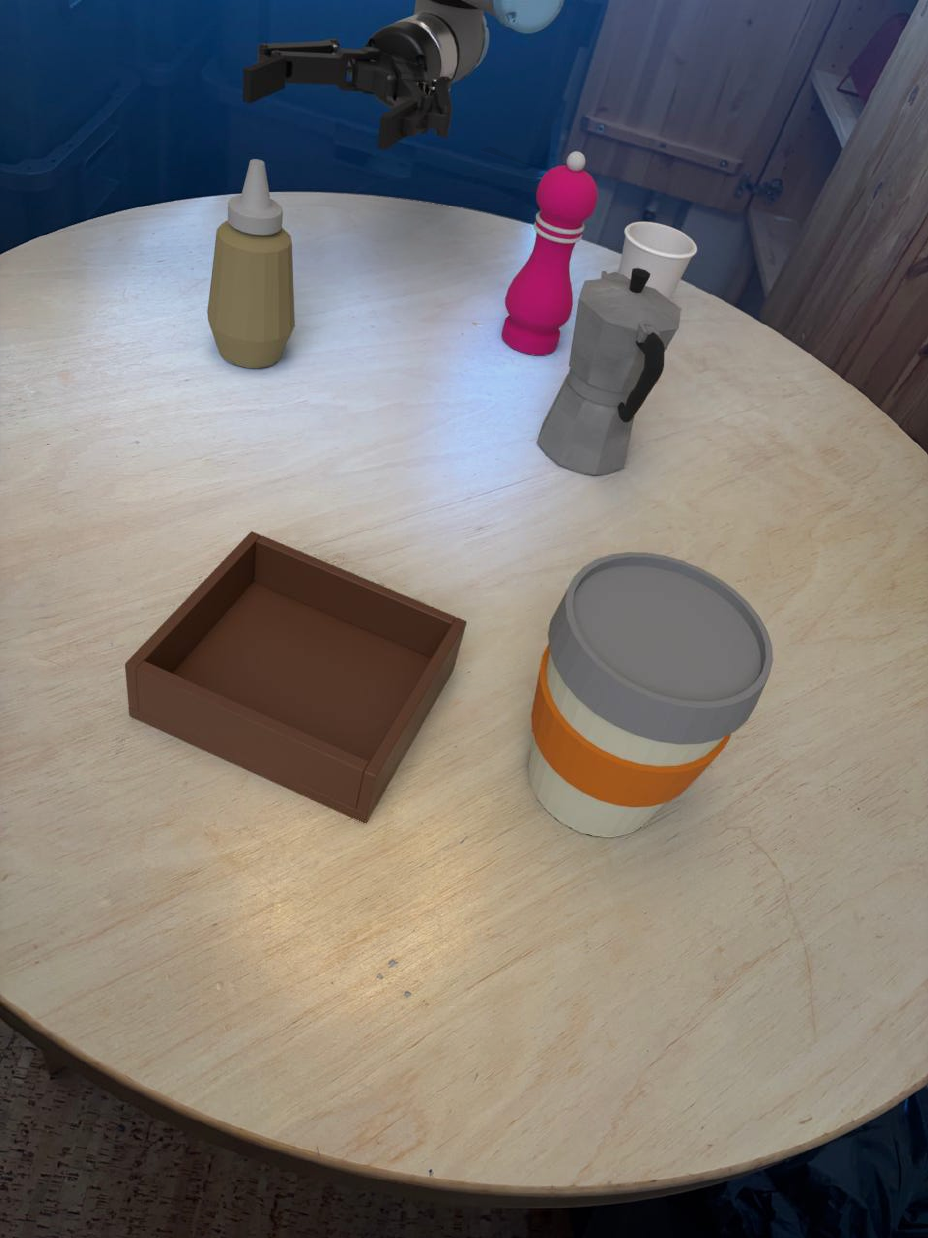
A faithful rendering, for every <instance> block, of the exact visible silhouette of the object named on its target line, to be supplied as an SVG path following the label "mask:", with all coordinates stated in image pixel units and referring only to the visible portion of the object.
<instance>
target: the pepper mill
mask: <svg viewBox="0 0 928 1238" xmlns="http://www.w3.org/2000/svg"><path fill="white" fill-rule="evenodd" d="M585 165H586V158H585V155H584V154H583V152H581V151H572V152H571V153H570V154H568V156H567V158H566V164H564V165H563V164H562V165H557V166H555V167H552V168H550V169H549V170H548V171H546V172H545V173H544V174H543V176H542V177H541V179H540V181H539V182H538V186H537V188H536V193H535V195H536V203H537V205H538V207H539V211H538V212H537V213H536V214H535V222H534V223H533V229H534V231H535V241H534V245H533V248H532V251H531V253H530V255H529V257H528V259H527V261H526V262H525V264H524V265H523V266H522V267H521V269H520V270H519V271H518V273H517V274H516V275H515V276H514V277H513V279H512V281H511V283H510V285H509V287H508V288H507V291H506V295H505V298H504V307H505V310H506V312H507V314H508V315H507V316H506V317H505V318H504V322H503V326H502V330H501V338H502V340H503V342H504V343H505V344H506V345H507V344H508V345H507V346H508V347H509V348H511V347H512V348H511V349H513V350H515V351H517V350H518V351H517V352H519V351H520V353H522V352H523V354H525V353H526V354H525V355H530V354H534V355H533V356H546V355H545V354H547V355H550V354H553V353H554V352H555V351H556V350H557V348H558V344H559V341H560V337H561V329H560V328H562V327H563V326H564V325H566V324H567V322H568V321H569V320H570V319H571V316H572V311H573V306H574V293H573V292H574V291H573V286H572V281H571V272H570V271H571V270H570V266H571V259H572V253H573V251H574V249H575V245H576V243H579V242H580V241H581V240H582V239H583V232H584V231H585V223H584V222H585V221H586V220H588V219H589V218H590V217H591V216H592V215H593V213H594V211H595V210H596V206H597V203H598V197H599V195H598V194H599V193H598V186H597V184H596V182H595V179H594V178H593V176H592V175H590V173H588V172H587V171H585V169H584V167H585Z"/></svg>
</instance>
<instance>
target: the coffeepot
mask: <svg viewBox="0 0 928 1238" xmlns="http://www.w3.org/2000/svg"><path fill="white" fill-rule="evenodd" d="M618 272H619V271H618ZM618 272H617V271H613V272H610V273H608V272H607V271H606V270H602V271H601V278H596V279H588V280H584V281H583V284H582V286H581V289H580V293H579V297H578V301H577V309H576V315H575V321H574V329H573V335H572V336H573V337H572V340H571V341H572V342H571V349H570V355H569V362H568V366H569V371H568V373H567V374H566V377H565V379H564V380H563V383H562V385H561V386H560V389H559V391H558V393H557V394H556V396H555V398H554V400H553V401H552V404H551V406H550V407H549V410H548V412H547V414H546V416H545V418H544V419H543V422H542V425H541V428H540V431H539V434H538V437H537V441H536V443H537V445H538V446H539V447H540V449H541V450H542V452H543V453H544V454H545V455H546V457H548V458H549V459H550V460H551V461H553V462H554V463H556V464H557V465H558V466H560V467H563V468H564V469H566V470H569V471H572V472H574V473H578V474H583V475H586V476H587V475H589V476H606V475H610V474H613V473H616V472H617V471H619V470H622V469H625V466H626V461H627V455H628V449H629V445H630V441H631V434H632V430H633V425H634V420H635V415H636V414H637V413H638V411H639V410H640V408H641V407H642V405H643V404H644V402H645V401H646V399H647V397H648V396H649V394H651V393H650V392H651V391H652V390H653V388H654V387H655V386H656V384H657V383H658V381H659V379H660V378H661V377H662V375H663V372H664V369H665V352H666V351H667V349H668V347H669V345H670V343H671V342H672V340H673V338H674V336H675V334H676V332H677V331H678V330H679V328H680V321H681V320H680V319H681V313H682V308H680V307H679V306H678V305H677V304H676V303H674V302H673V301H672V300H671V299H670V300H669V299H668V298H666V297H665V296H664V295H663V294H661V293H660V292H659V291H657V290H656V289H655V288H651V287H648V286H645V284H646V283H647V281H648V279H649V277H650V273H649V272H647V271H646V270H643V269H640V268H634V269H632V275H631V280H630V279H629V278H627V277H626V276H625V275H621V274H620V273H618Z"/></svg>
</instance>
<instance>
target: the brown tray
mask: <svg viewBox="0 0 928 1238" xmlns="http://www.w3.org/2000/svg"><path fill="white" fill-rule="evenodd" d="M466 626H467V620H465V619H462V618H460V617H458V616H457V617H456V616H455V615H453V614H450V613H448V612H445V611H443V610H441V609H439V608H436V607H434V606H431V605H429V604H427V603H425V602H421V600H420V601H419V600H417V599H415V598H412V597H410V596H407V595H404V593H401V592H398V591H395V590H393V589H391V588H389V587H387V586H383V585H381V584H379V583H376V582H374V581H372V580H369V579H367V578H365V577H362V576H360V575H357V574H355V573H352V572H351V571H348V570H346V569H343V568H341V567H339V566H336V565H334V564H332V563H329V562H326V561H325V560H322V559H319V558H317V557H314V556H312V555H310V554H307V553H305V552H303V551H300V550H298V549H296V548H293V547H291V546H288V545H286V544H283V543H282V542H278V541H277V540H274V539H271V538H269V537H268V536H265V535H261V534H260V533H258V532H255V531H253V530H251V531H250V532H249V533H248V534H247V535H246V536H245V537H244V538H243V539H242V540H241V541H240V543H238V545H236V546H235V548H233V550H232V551H231V552H230V553H229V554H228V555H226V557H225V558H224V559H223V560H222V561H221V562H220V563H219V565H218V566H216V567H215V569H214V570H213V571H212V572H211V573H210V574H208V576H207V577H206V578H205V579H204V580H203V581H202V582H201V583H200V584H199V585H198V586H197V587H196V588H195V590H194V591H193V592H192V593H191V594H190V595H189V596H188V597H187V598H186V599H185V600H184V601H183V602H182V603H181V604H180V606H178V607H177V608H176V609H175V610H174V612H172V614H171V615H170V616H169V617H168V618H167V619H166V620H165V621H164V622H163V623H162V624H161V625H160V626H159V627H158V628H157V629H156V631H155V632H154V633H153V634H152V635H150V637H149V638H148V639H146V640H145V642H144V643H143V644H142V645H141V646H140V647H139V648H138V649H137V650H136V651H135V653H133V655H132V656H130V658H129V659H128V660H127V661H126V662H125V663H124V671H125V682H126V693H127V705H128V715H129V717H131V718H133V719H134V720H137V721H139V722H141V723H143V724H146V725H148V726H150V727H153V728H155V729H157V730H159V731H162V732H164V733H165V734H168V735H170V736H172V737H174V738H177V739H179V740H181V741H183V742H185V743H187V744H189V745H191V746H194V747H196V748H198V749H200V750H203V751H204V752H207V753H209V754H211V755H214V756H216V757H218V758H220V759H222V760H225V761H226V762H229V763H231V764H234V765H235V766H237V767H240V768H242V769H244V770H246V771H249V772H251V773H252V774H255V775H257V776H259V777H262V778H264V779H266V780H268V781H270V782H273V783H274V784H277V785H279V786H281V787H284V788H286V789H288V790H290V791H292V792H294V793H297V794H299V795H301V796H303V797H305V798H307V797H308V798H307V799H310V800H312V801H314V802H316V803H318V804H320V803H321V805H323V806H324V807H327V808H329V809H331V810H334V811H336V812H338V813H340V814H343V815H344V814H345V816H347V817H349V818H351V819H353V818H354V819H353V820H355V819H356V821H357V820H359V821H358V822H360V821H361V822H360V823H362V822H363V823H362V824H364V823H366V824H367V823H368V822H369V819H370V818H371V816H372V814H373V812H374V811H373V810H375V809H376V808H377V806H378V804H379V802H380V800H381V798H382V797H383V795H384V793H385V791H386V790H387V788H388V786H389V784H390V782H391V781H392V780H393V777H394V776H395V774H396V772H397V770H398V768H399V767H400V765H401V764H402V761H403V759H404V758H405V756H406V754H407V753H408V752H409V749H410V747H411V745H412V744H413V742H414V740H415V738H416V737H417V735H418V734H419V731H420V730H421V728H422V726H423V724H424V723H425V721H426V719H427V717H428V716H429V714H430V712H431V710H432V709H433V706H434V705H435V703H436V702H437V699H438V698H439V696H440V694H441V693H442V692H443V690H444V687H445V685H446V684H447V682H448V680H449V678H450V677H451V675H452V674H453V672H454V670H455V667H456V663H457V659H458V655H459V652H460V648H461V644H462V642H463V637H464V634H465V630H466ZM369 817H370V818H369Z"/></svg>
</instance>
